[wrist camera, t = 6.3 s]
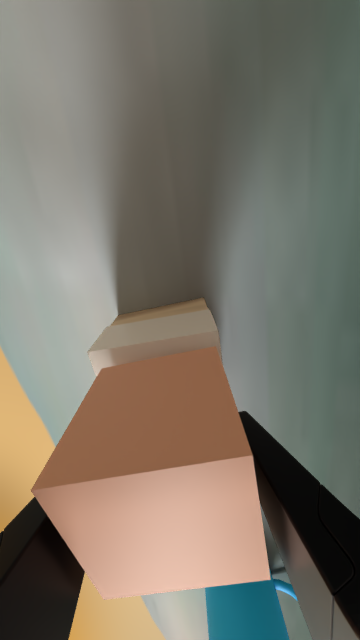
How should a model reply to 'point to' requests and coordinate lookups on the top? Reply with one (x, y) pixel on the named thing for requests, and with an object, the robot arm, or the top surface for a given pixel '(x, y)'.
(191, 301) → the slab lower
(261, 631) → the mug
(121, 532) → the coral cube
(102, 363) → the slab upper
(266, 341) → the top surface
